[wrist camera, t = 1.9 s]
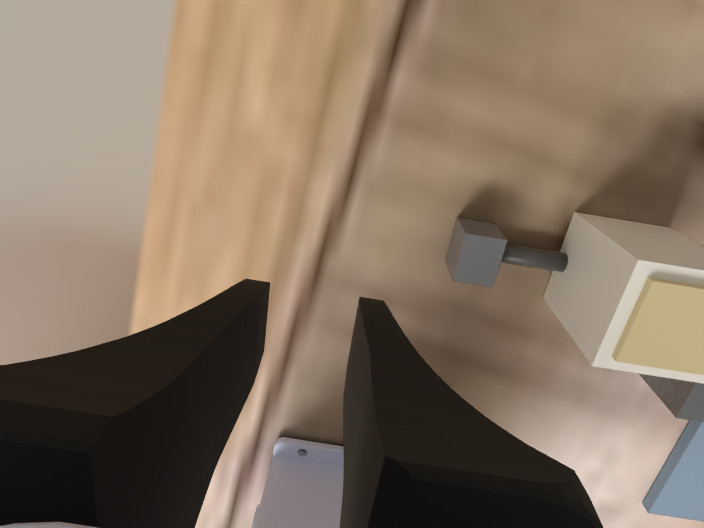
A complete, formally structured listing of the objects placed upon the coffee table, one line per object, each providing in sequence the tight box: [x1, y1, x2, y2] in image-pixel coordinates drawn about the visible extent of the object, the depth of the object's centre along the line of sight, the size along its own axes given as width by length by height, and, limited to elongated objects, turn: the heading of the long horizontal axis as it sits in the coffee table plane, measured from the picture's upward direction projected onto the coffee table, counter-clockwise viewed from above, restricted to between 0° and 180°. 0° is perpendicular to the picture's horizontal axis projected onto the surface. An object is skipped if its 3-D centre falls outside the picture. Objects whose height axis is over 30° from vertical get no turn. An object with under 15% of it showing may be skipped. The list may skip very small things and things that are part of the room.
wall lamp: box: [446, 212, 704, 384], centre depth 17 cm, size 9×4×5 cm, turn 81°
